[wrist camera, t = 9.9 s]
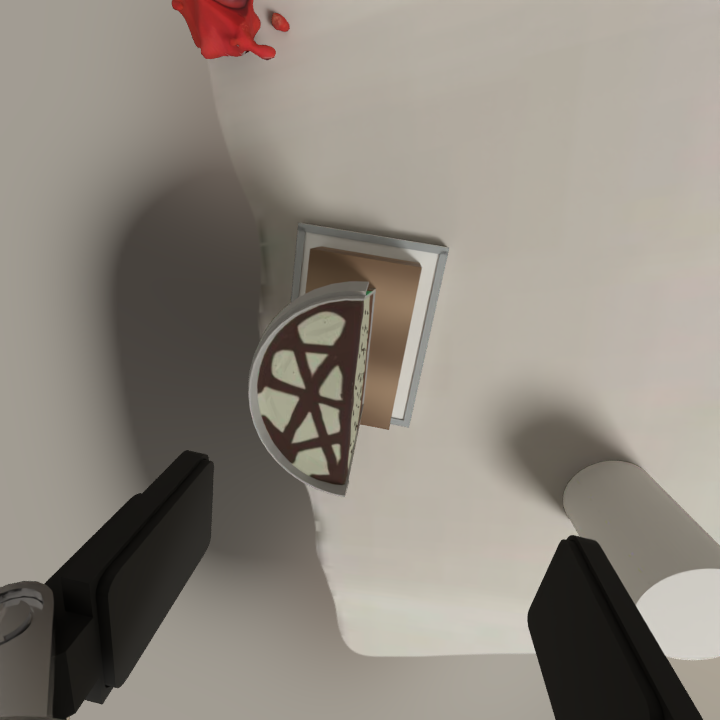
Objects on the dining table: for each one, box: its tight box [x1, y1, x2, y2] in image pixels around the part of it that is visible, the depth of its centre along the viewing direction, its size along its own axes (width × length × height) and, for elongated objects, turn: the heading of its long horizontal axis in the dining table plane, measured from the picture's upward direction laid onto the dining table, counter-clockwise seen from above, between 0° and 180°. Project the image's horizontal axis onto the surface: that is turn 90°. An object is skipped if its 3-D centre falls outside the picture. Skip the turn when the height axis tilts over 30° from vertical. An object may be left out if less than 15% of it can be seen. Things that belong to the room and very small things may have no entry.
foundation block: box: [305, 246, 422, 430], centre depth 31 cm, size 13×8×4 cm, turn 171°
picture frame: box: [291, 223, 449, 427], centre depth 33 cm, size 16×12×1 cm
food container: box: [248, 281, 376, 497], centre depth 25 cm, size 12×6×10 cm, turn 175°
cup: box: [563, 461, 720, 660], centre depth 31 cm, size 8×8×12 cm
